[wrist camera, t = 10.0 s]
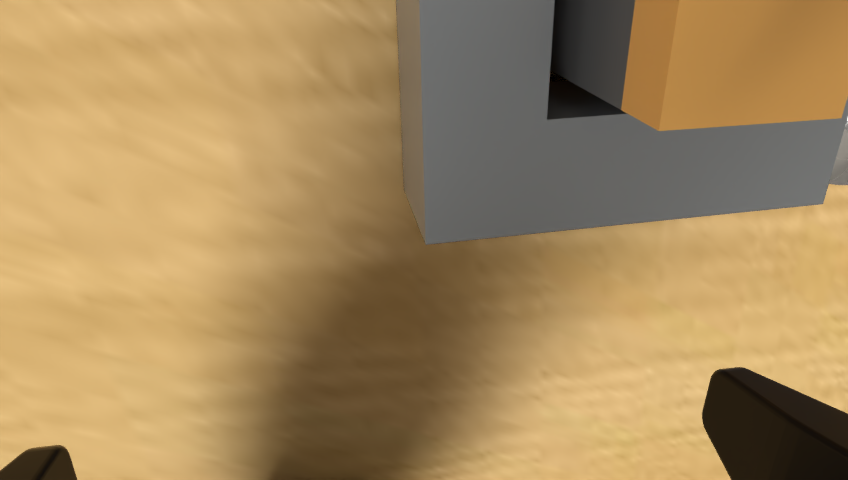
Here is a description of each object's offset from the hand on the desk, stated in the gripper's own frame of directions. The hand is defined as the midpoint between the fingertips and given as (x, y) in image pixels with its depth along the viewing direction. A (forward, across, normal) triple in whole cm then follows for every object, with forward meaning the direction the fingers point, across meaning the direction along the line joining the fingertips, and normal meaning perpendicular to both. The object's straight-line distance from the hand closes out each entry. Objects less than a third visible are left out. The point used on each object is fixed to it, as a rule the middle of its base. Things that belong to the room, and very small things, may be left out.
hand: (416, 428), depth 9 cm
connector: (+12, -7, -5) cm, 15 cm away
